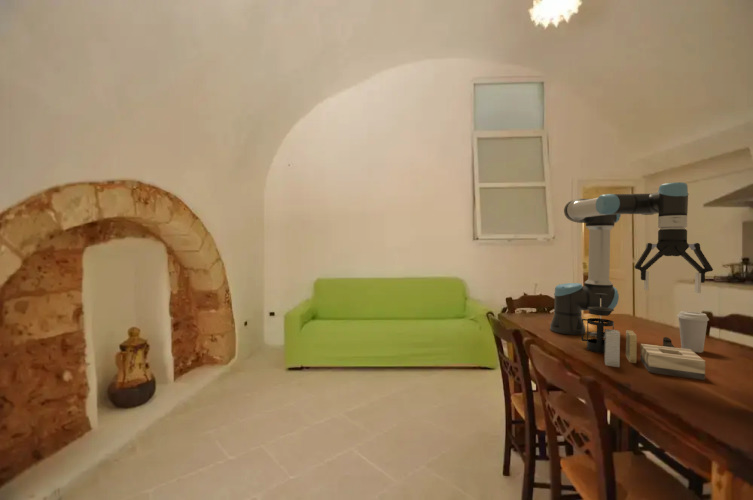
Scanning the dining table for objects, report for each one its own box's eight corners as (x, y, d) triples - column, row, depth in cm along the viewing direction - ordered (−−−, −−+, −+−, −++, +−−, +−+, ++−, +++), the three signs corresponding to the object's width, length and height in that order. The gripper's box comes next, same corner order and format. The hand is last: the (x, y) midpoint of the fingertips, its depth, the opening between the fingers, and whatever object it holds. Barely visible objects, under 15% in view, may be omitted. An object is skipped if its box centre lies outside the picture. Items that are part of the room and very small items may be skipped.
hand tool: (679, 360, 127) (679, 348, 127) (665, 358, 129) (665, 346, 129) (674, 348, 142) (674, 337, 142) (661, 346, 144) (662, 335, 144)
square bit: (604, 361, 125) (604, 329, 125) (617, 363, 123) (618, 330, 123) (605, 365, 121) (606, 331, 121) (619, 367, 119) (620, 332, 119)
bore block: (640, 359, 127) (640, 343, 127) (690, 366, 121) (690, 349, 120) (649, 372, 115) (649, 354, 115) (704, 380, 108) (705, 361, 108)
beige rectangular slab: (625, 356, 132) (626, 330, 132) (632, 356, 131) (632, 330, 131) (629, 362, 125) (629, 334, 124) (636, 363, 124) (636, 335, 124)
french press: (616, 349, 140) (617, 293, 139) (615, 355, 132) (616, 295, 132) (582, 344, 147) (583, 290, 146) (580, 349, 139) (581, 293, 139)
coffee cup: (715, 353, 134) (716, 315, 134) (690, 353, 135) (691, 315, 134) (693, 346, 144) (694, 310, 144) (670, 346, 144) (670, 310, 144)
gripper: (629, 229, 119) (628, 290, 120) (727, 227, 108) (725, 295, 108) (625, 229, 126) (624, 287, 126) (717, 228, 114) (716, 292, 115)
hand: (671, 291), depth 117 cm, fingers open, 13 cm apart
